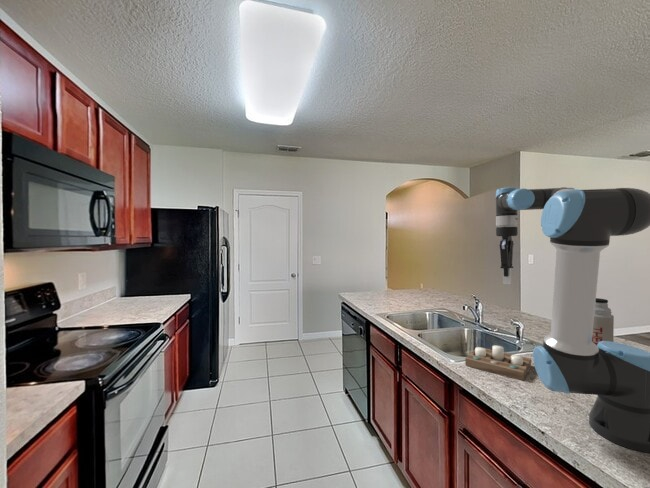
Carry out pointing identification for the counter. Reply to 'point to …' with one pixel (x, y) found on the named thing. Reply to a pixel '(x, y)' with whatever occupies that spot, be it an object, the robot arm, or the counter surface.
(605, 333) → the thermos bottle
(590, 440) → the counter surface
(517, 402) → the counter surface
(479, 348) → the white rounded cylinder
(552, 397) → the counter surface
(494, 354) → the button
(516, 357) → the button
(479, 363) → the button board
